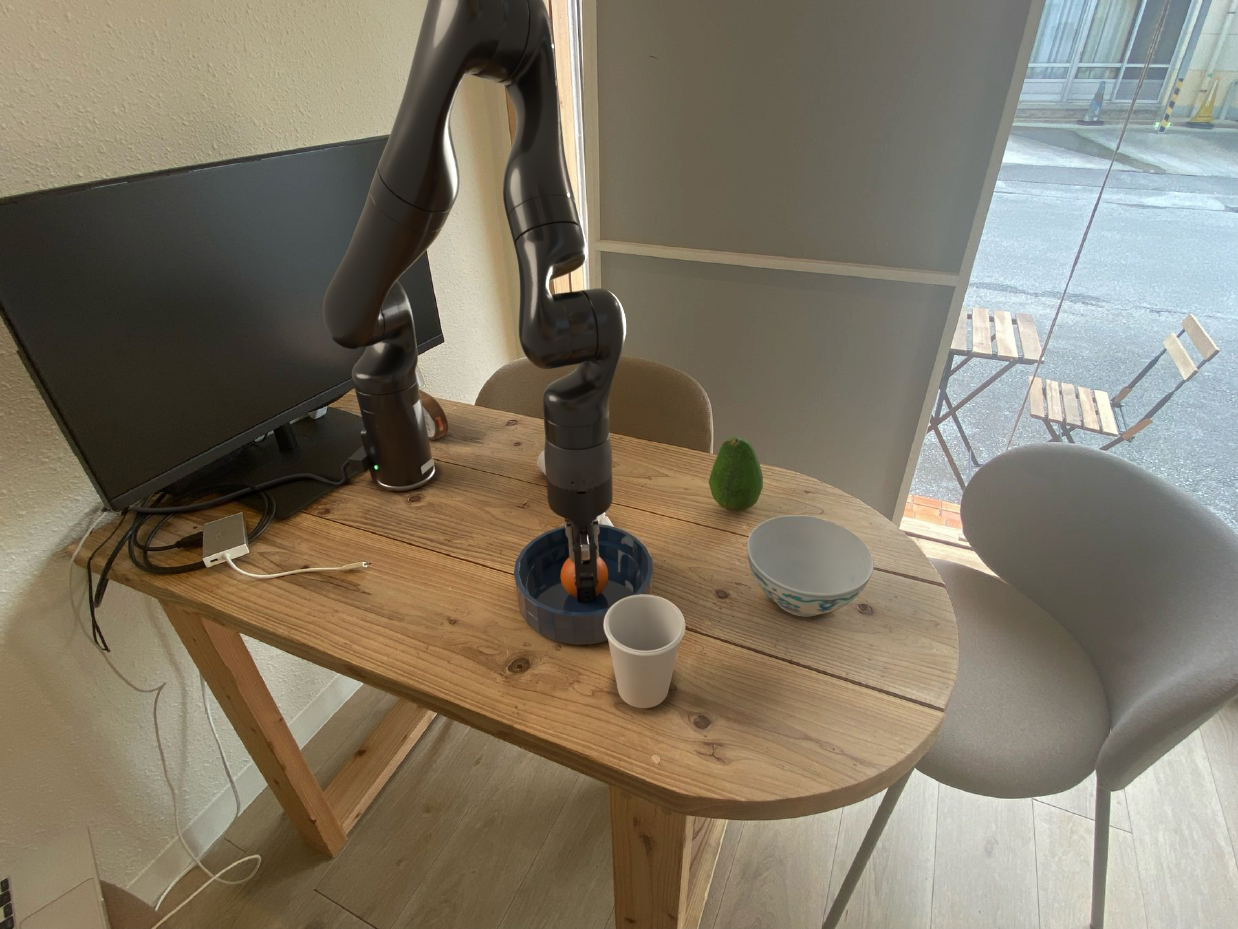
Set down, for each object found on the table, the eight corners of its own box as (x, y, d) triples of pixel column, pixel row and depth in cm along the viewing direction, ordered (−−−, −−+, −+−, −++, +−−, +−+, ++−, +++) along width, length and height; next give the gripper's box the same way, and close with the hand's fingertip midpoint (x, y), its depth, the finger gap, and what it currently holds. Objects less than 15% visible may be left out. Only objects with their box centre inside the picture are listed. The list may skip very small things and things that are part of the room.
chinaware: (719, 577, 85) (724, 532, 81) (811, 548, 90) (819, 504, 86) (786, 658, 74) (796, 610, 70) (887, 620, 79) (902, 572, 74)
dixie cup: (592, 703, 69) (589, 638, 63) (623, 648, 75) (623, 584, 70) (665, 730, 66) (668, 664, 60) (691, 670, 72) (696, 606, 67)
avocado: (718, 488, 103) (724, 422, 97) (765, 501, 100) (774, 434, 94) (699, 514, 97) (704, 446, 91) (749, 529, 94) (758, 459, 88)
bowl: (497, 635, 77) (492, 602, 74) (543, 546, 91) (540, 515, 88) (637, 660, 74) (637, 626, 71) (662, 564, 88) (663, 532, 85)
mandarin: (556, 606, 80) (552, 568, 77) (570, 573, 85) (566, 536, 81) (602, 613, 79) (600, 575, 75) (613, 579, 84) (612, 542, 80)
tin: (452, 441, 117) (445, 399, 112) (438, 447, 115) (430, 406, 110) (408, 415, 126) (400, 376, 121) (394, 421, 124) (385, 381, 119)
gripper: (544, 439, 77) (552, 543, 86) (546, 508, 65) (556, 621, 74) (605, 435, 78) (607, 539, 87) (619, 502, 66) (620, 615, 75)
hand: (584, 576), depth 80 cm, fingers open, 8 cm apart
